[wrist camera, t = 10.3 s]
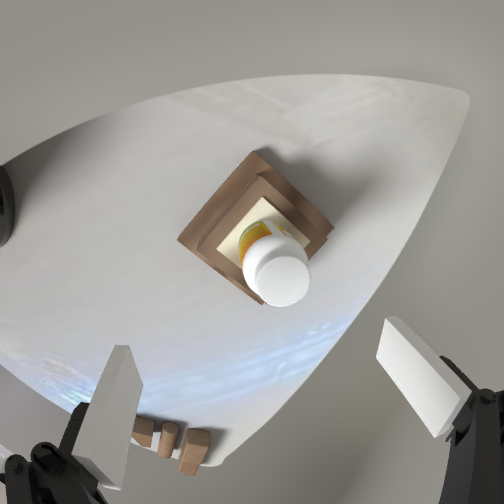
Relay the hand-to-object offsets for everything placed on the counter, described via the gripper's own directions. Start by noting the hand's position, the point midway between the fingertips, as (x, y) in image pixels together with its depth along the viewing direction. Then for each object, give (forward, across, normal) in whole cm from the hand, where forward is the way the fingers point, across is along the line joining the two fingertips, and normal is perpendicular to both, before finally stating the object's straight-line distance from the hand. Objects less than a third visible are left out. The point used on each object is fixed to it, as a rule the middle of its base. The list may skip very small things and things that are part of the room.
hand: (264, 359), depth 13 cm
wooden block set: (+25, -19, -45) cm, 54 cm away
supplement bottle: (+17, +3, +1) cm, 17 cm away
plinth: (+24, +3, +1) cm, 24 cm away
